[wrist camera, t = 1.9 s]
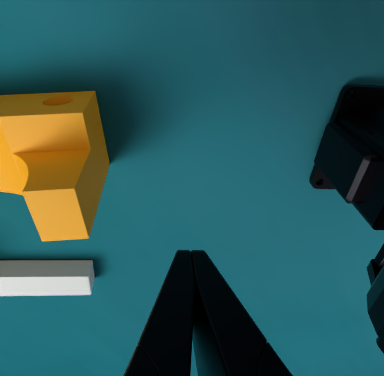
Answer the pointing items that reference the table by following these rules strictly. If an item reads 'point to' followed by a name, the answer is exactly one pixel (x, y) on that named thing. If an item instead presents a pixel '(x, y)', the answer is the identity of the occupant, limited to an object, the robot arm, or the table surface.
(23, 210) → the table surface
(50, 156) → the pipe clamp
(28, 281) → the collar track
